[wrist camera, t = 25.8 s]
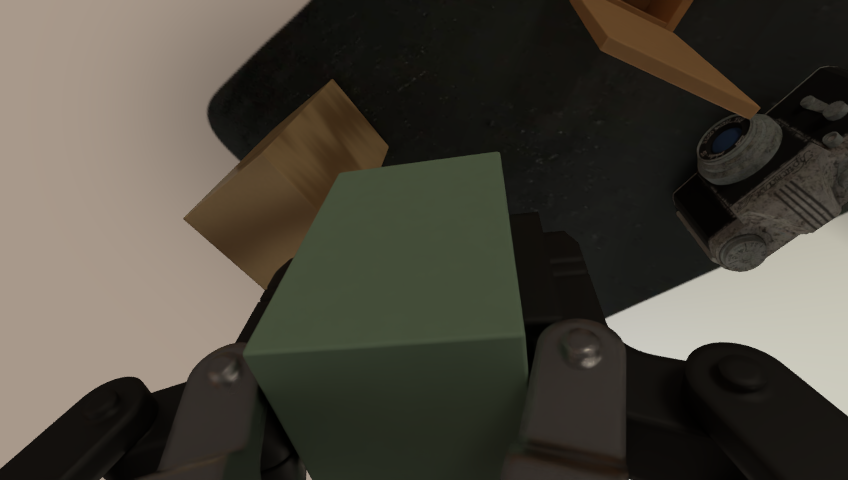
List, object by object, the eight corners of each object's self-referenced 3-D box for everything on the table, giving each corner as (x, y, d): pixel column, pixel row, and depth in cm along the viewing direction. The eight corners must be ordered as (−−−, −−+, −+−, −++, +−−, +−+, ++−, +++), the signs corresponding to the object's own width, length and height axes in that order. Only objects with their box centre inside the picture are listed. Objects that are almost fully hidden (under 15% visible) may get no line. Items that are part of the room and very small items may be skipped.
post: (273, 128, 39) (182, 218, 27) (332, 78, 36) (261, 153, 24) (330, 188, 42) (271, 296, 29) (389, 146, 39) (351, 245, 27)
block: (338, 172, 12) (240, 353, 7) (499, 150, 11) (525, 334, 6) (375, 294, 14) (322, 501, 9) (512, 282, 13) (539, 499, 8)
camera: (805, 27, 32) (924, 59, 24) (862, 85, 34) (991, 135, 25) (636, 182, 39) (681, 249, 31) (690, 223, 41) (746, 297, 33)
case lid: (608, 35, 18) (599, 50, 18) (761, 107, 19) (750, 120, 19) (569, -18, 27) (563, -7, 27) (675, 33, 28) (668, 43, 28)
